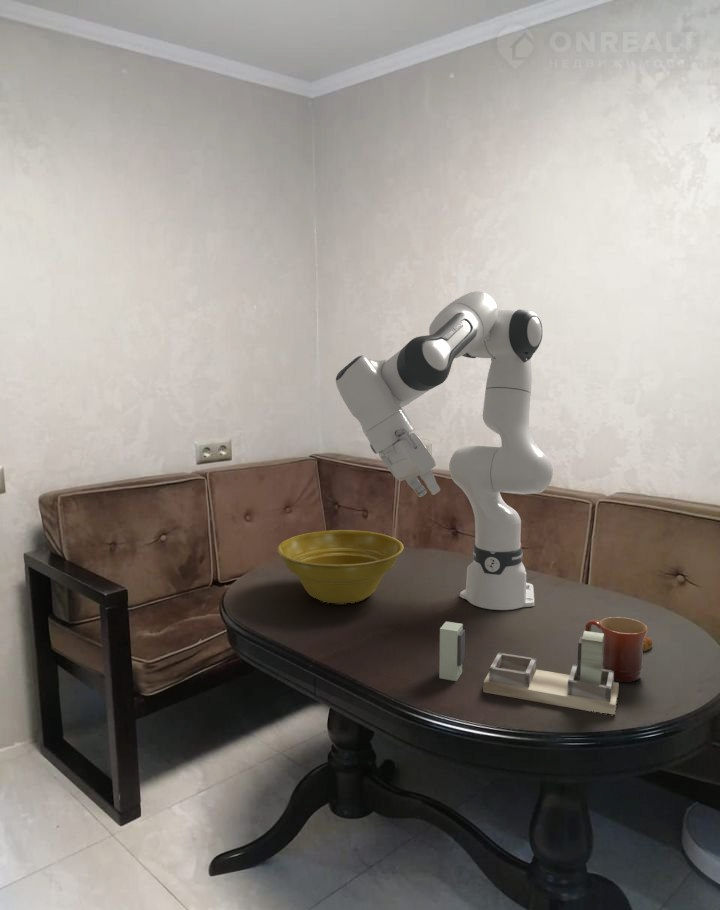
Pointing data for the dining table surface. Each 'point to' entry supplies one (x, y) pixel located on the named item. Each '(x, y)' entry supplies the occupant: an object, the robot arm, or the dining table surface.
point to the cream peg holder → (558, 679)
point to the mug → (622, 646)
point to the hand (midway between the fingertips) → (429, 494)
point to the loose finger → (451, 650)
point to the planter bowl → (340, 562)
